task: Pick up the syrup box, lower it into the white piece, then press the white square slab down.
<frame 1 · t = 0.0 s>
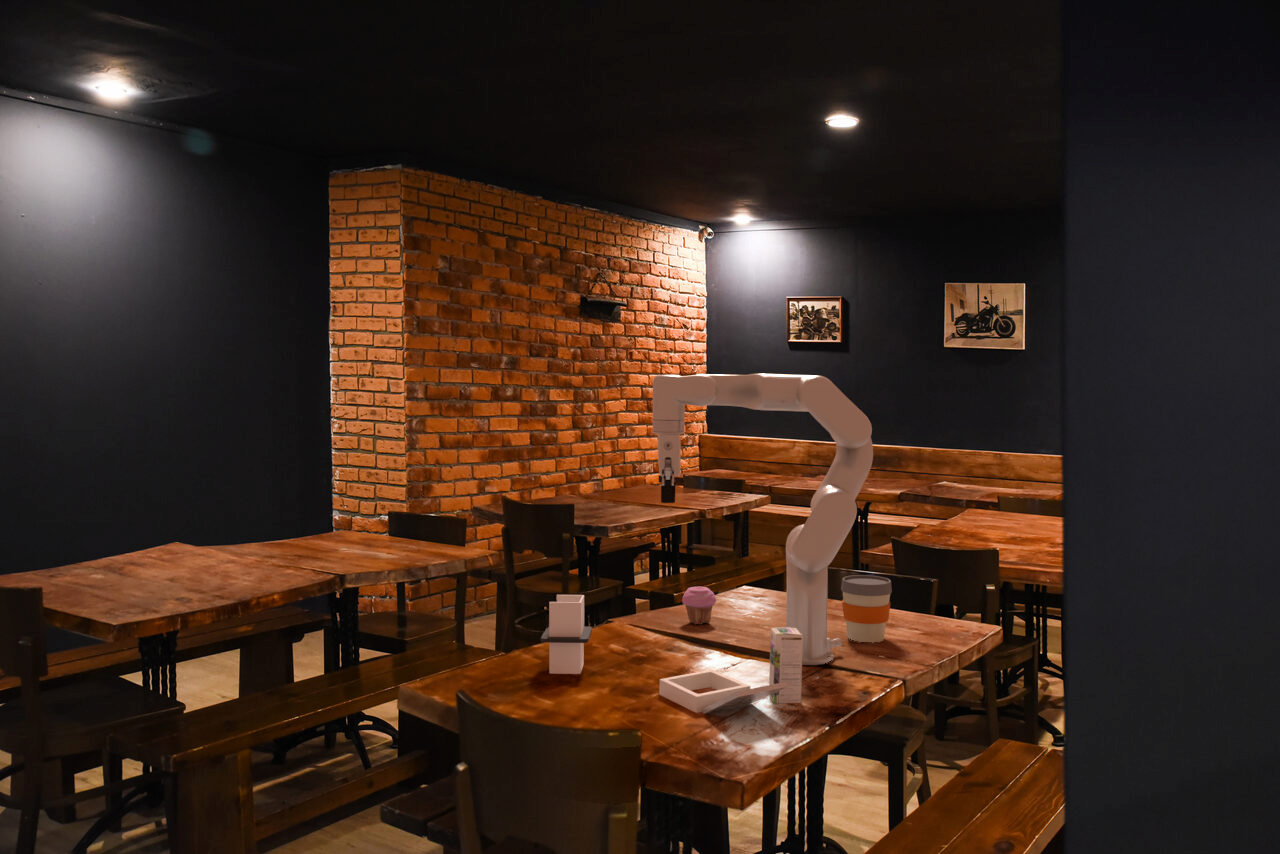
hand: (668, 500, 241), 37 cm above the table, tool pointing down, fingers open, 9 cm apart
white piece: (704, 699, 211), on the table
white square slab: (744, 697, 199), point 4 cm above the table, hinge at 30.0°
reusable coffee cup: (865, 639, 260), on the table
white flanged box: (567, 670, 232), on the table
cupcake: (698, 623, 275), on the table
syrup box: (785, 700, 211), on the table
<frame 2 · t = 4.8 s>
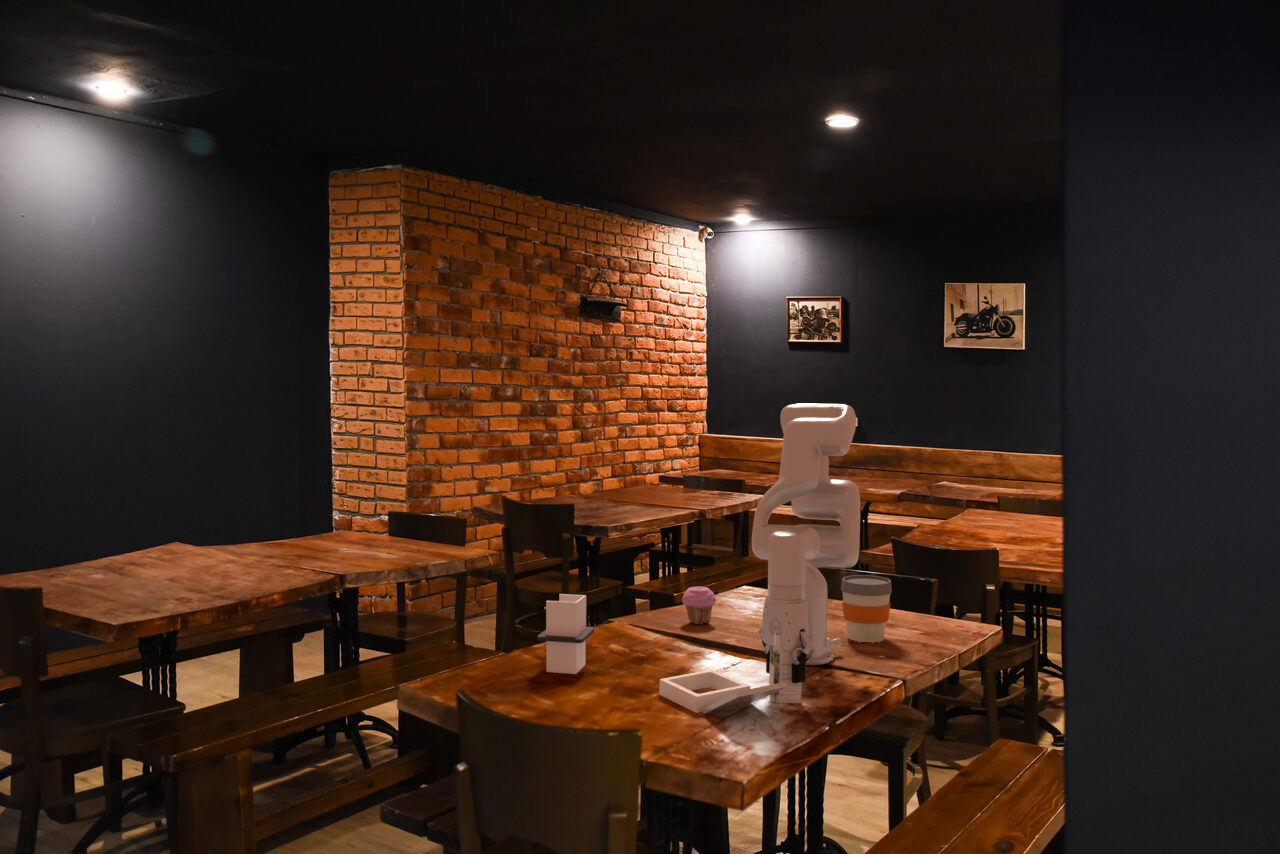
hand: (785, 676, 210), 5 cm above the table, tool pointing down, fingers closed on syrup box, 7 cm apart
syrup box: (785, 700, 211), on the table, touching gripper
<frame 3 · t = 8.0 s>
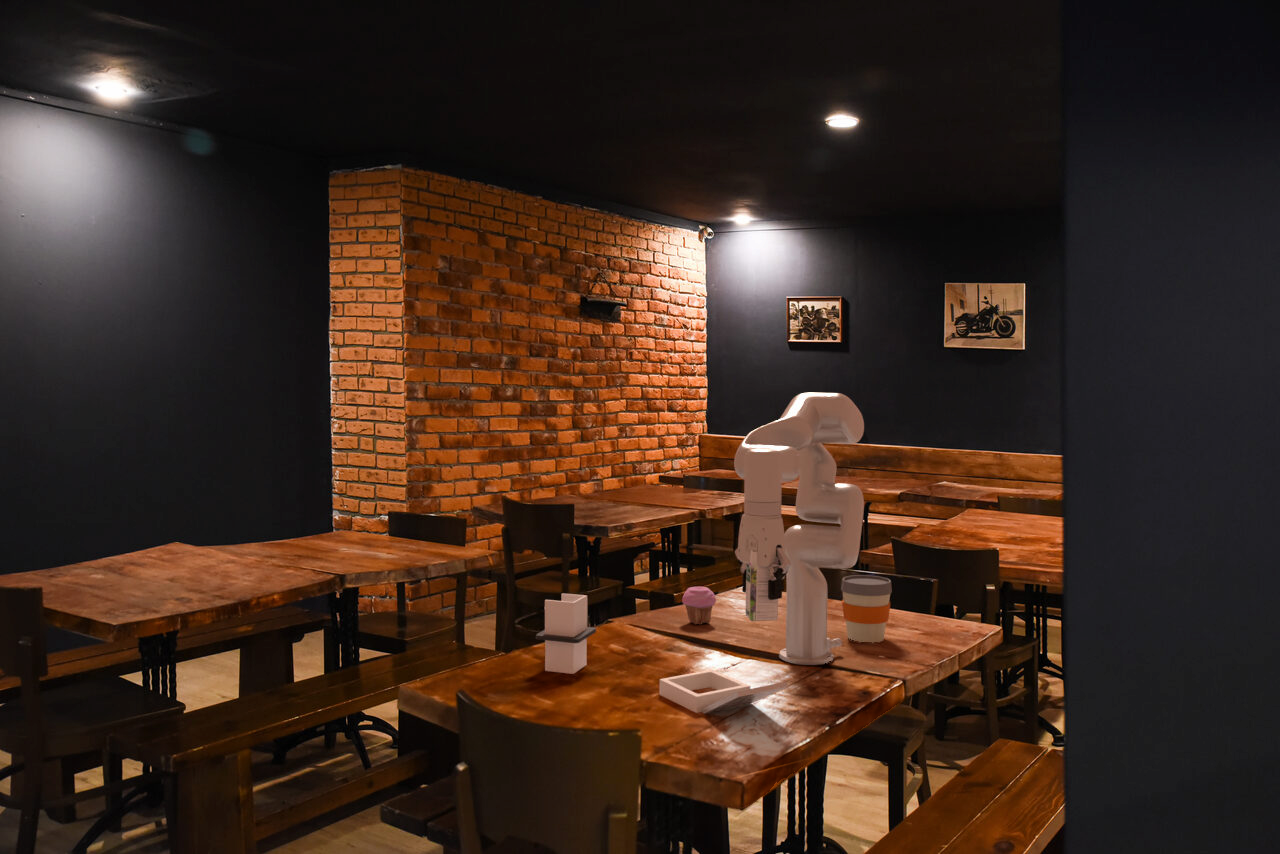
hand: (761, 594, 210), 22 cm above the table, tool pointing down, fingers closed on syrup box, 7 cm apart
syrup box: (761, 619, 210), point 17 cm above the table, touching gripper
when the fingers open (6 cm above the table, at t = 11.1 s): syrup box drops 1 cm, resting in white piece.
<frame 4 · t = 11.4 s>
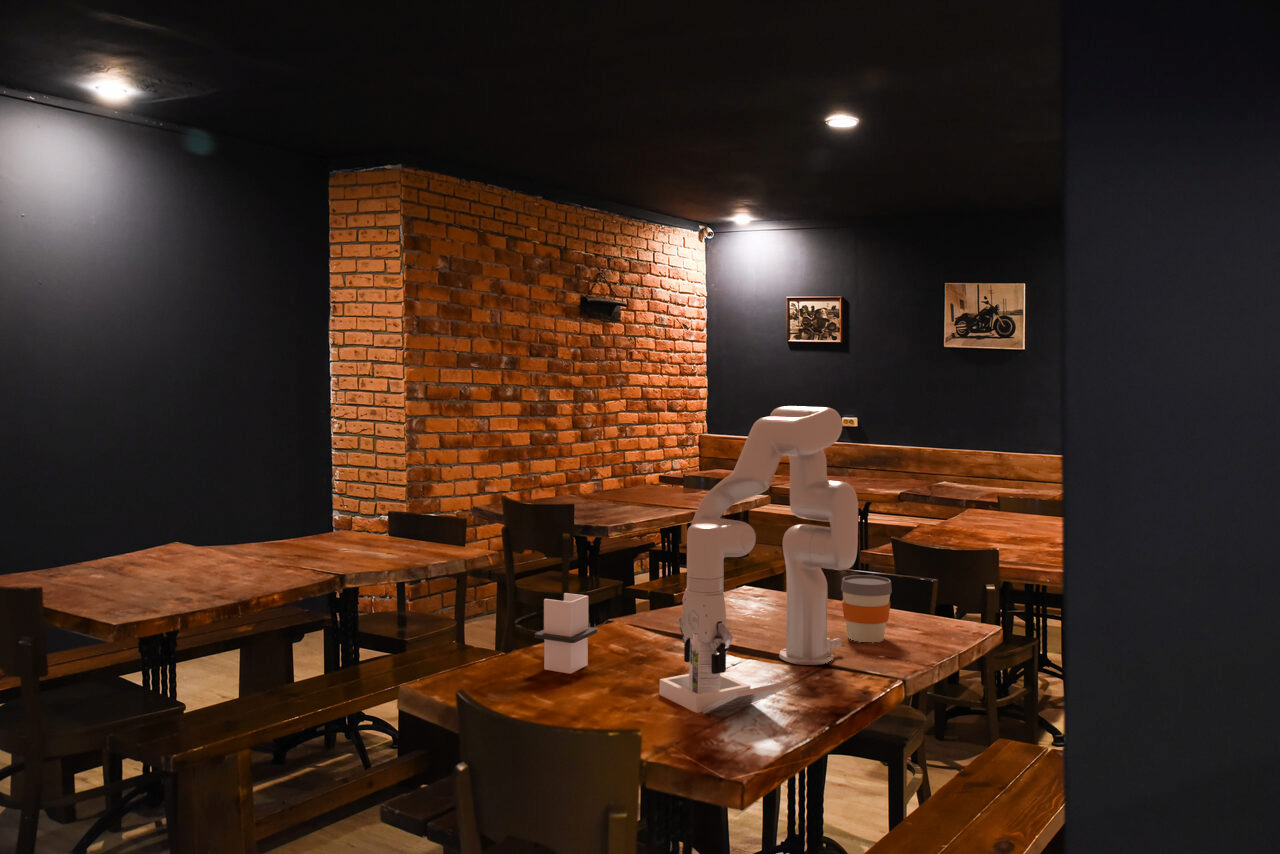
hand: (704, 666, 211), 7 cm above the table, tool pointing down, fingers open, 9 cm apart
syrup box: (704, 699, 211), resting in white piece
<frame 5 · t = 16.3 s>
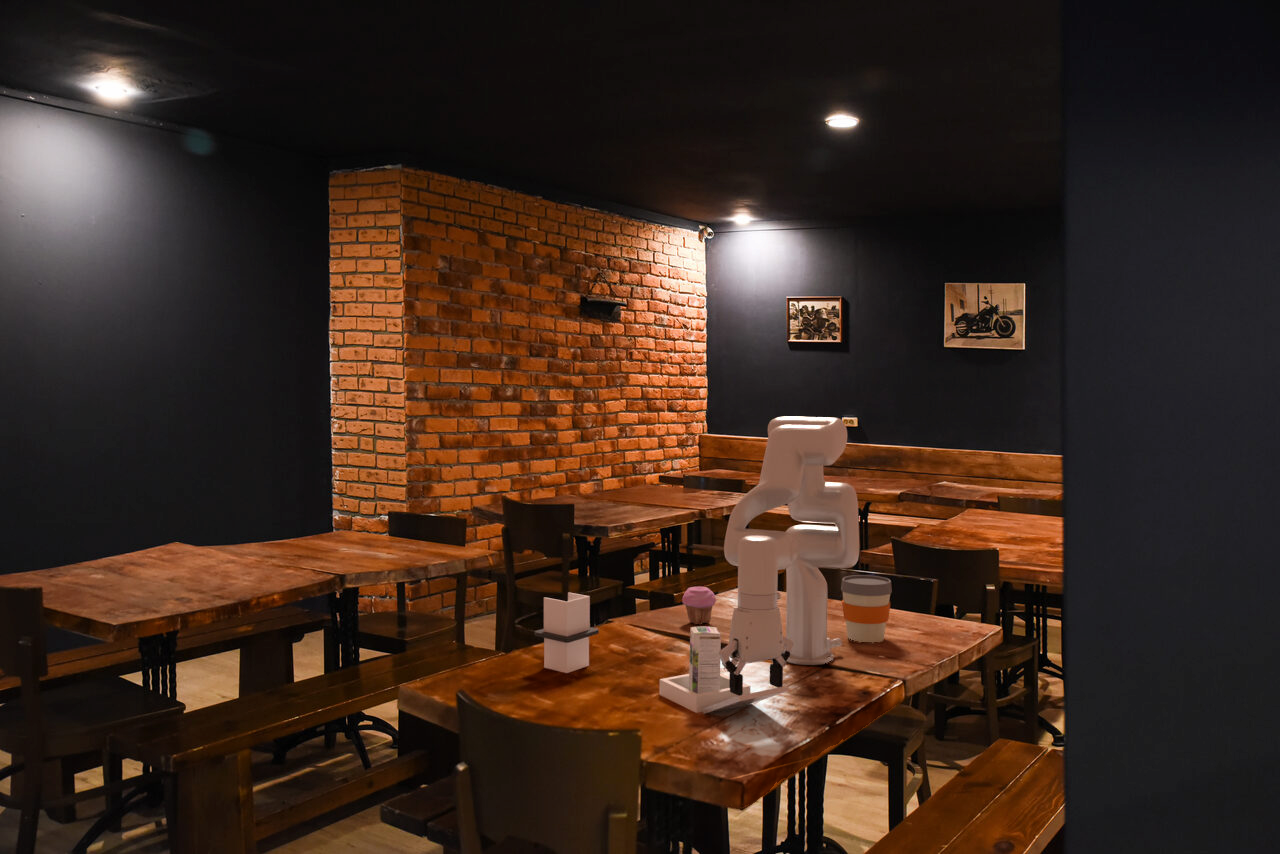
hand: (756, 689, 196), 7 cm above the table, tool pointing down, fingers open, 9 cm apart
white square slab: (745, 699, 199), point 4 cm above the table, hinge at 26.4°, touching gripper
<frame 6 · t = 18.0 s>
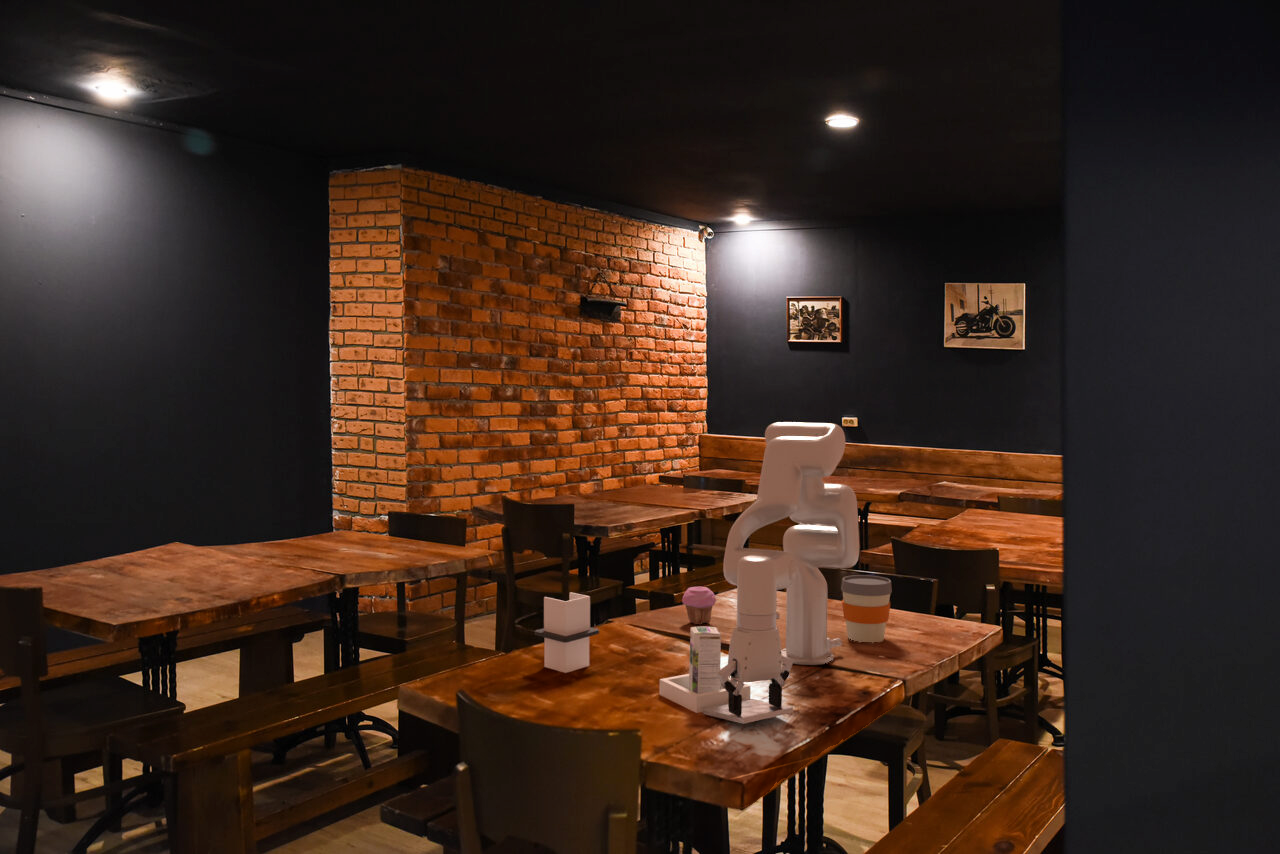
hand: (755, 709, 196), 3 cm above the table, tool pointing down, fingers open, 9 cm apart
white square slab: (747, 710, 199), point 2 cm above the table, hinge at 8.4°, touching gripper
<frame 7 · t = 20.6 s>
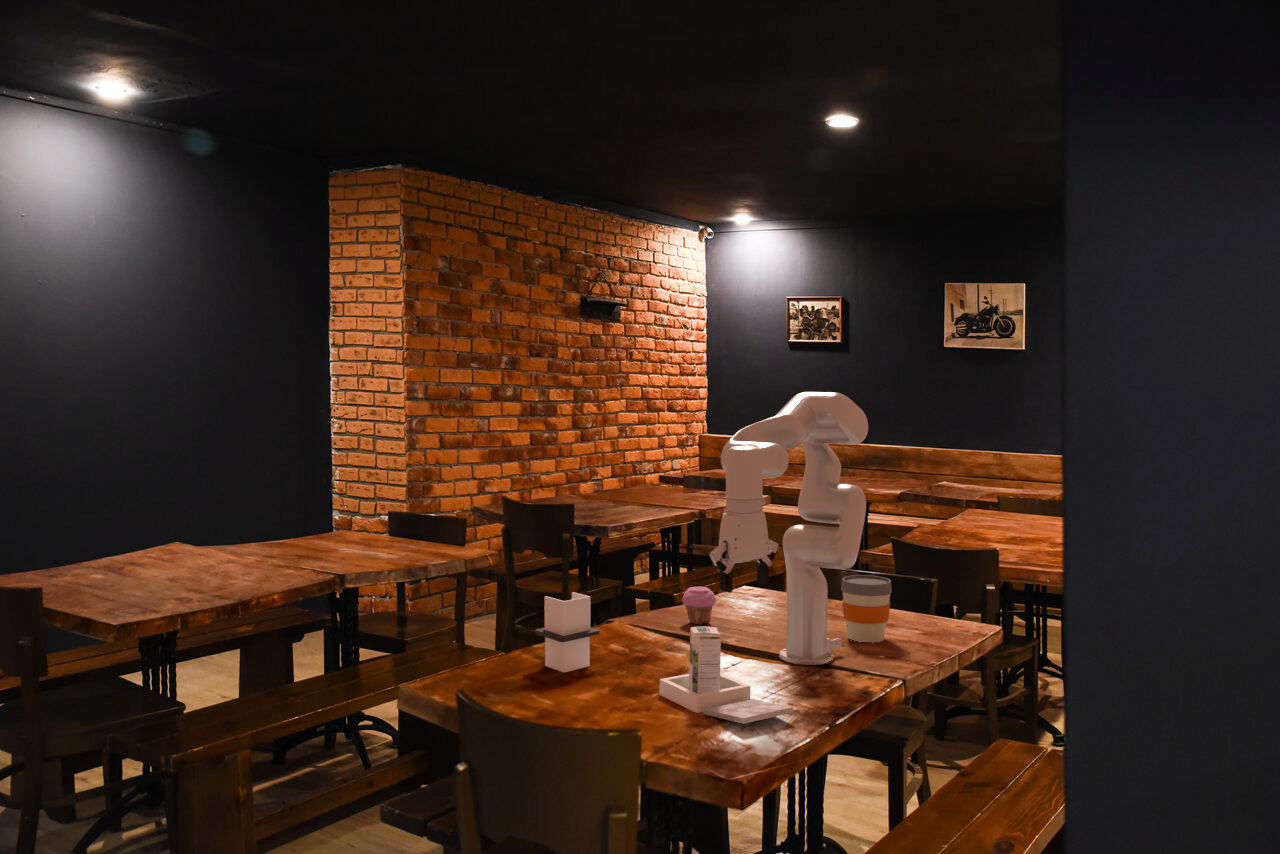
hand: (744, 587, 212), 23 cm above the table, tool pointing down, fingers open, 9 cm apart
white square slab: (747, 710, 199), point 2 cm above the table, hinge at 8.4°
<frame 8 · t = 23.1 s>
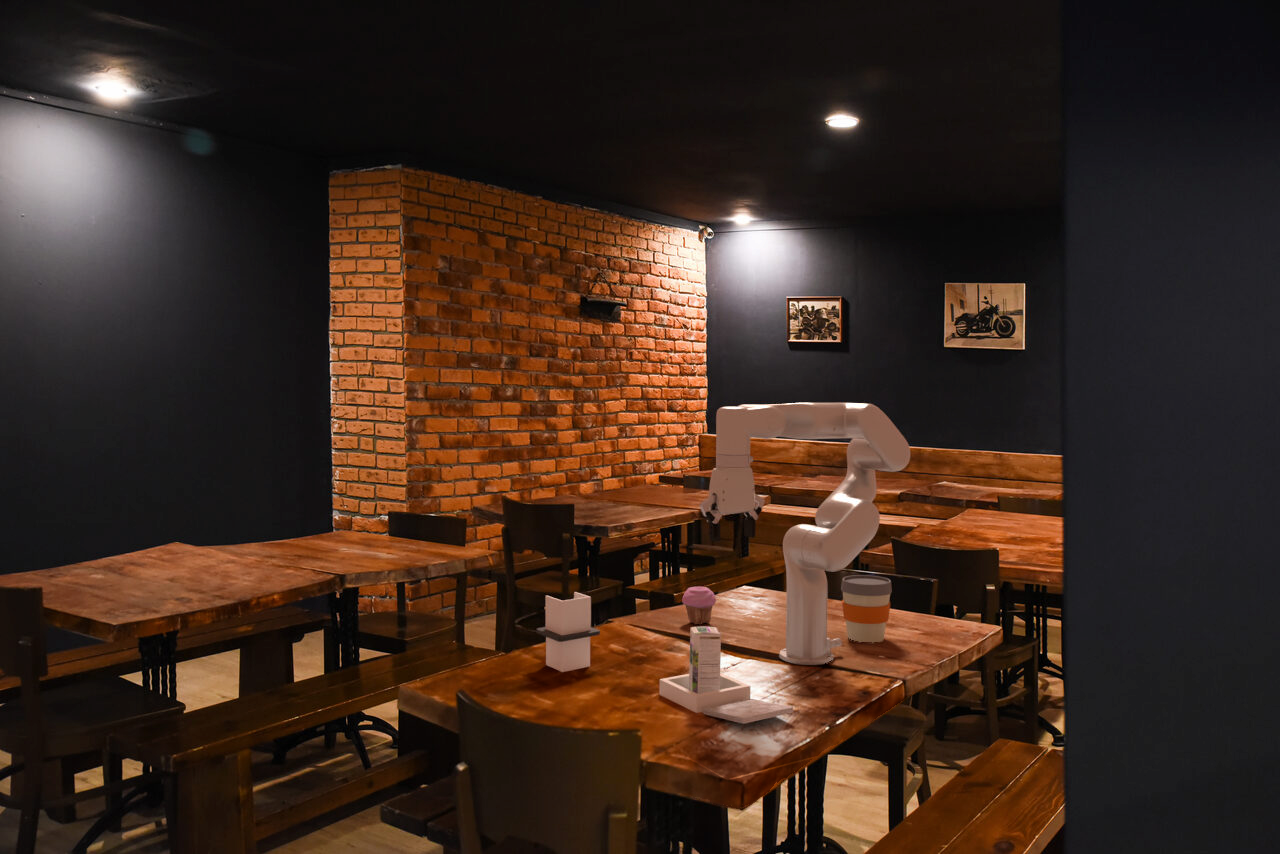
hand: (732, 538, 228), 30 cm above the table, tool pointing down, fingers open, 9 cm apart
at the end: syrup box 0.3 cm off-centre on the white piece, point 0.0 cm above the white piece's base; syrup box tilted 0°; white square slab at +8° (first picture: +30°) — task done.
